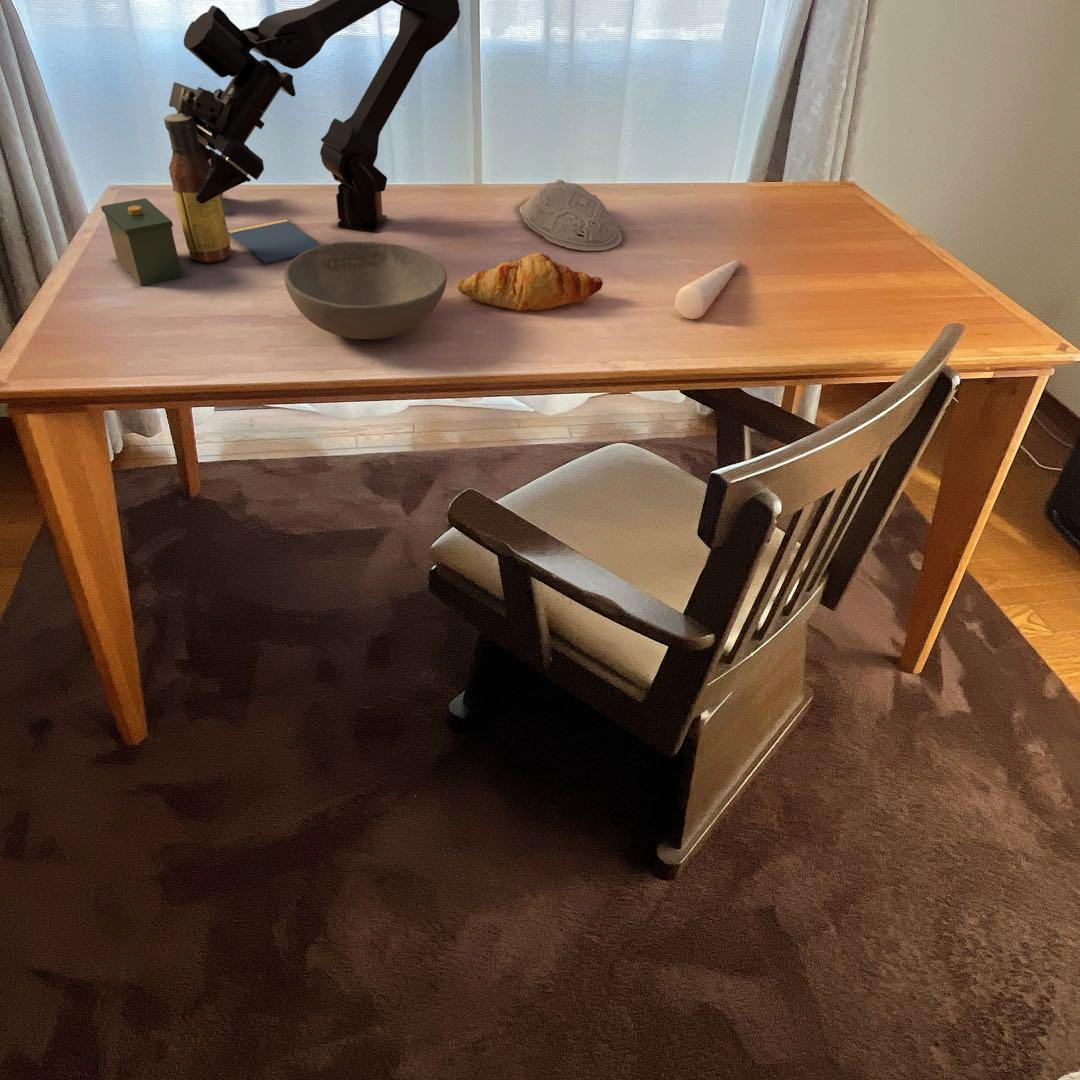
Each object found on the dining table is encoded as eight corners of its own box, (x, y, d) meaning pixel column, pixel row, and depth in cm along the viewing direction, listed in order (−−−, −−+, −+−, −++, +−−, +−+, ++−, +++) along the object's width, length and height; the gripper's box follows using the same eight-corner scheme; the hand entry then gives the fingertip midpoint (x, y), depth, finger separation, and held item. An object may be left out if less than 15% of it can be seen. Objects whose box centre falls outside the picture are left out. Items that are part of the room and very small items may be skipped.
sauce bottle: (240, 253, 135) (216, 115, 122) (213, 267, 131) (185, 126, 118) (206, 244, 137) (179, 107, 124) (178, 258, 132) (147, 118, 119)
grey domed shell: (551, 251, 140) (557, 208, 136) (504, 204, 159) (508, 165, 155) (638, 253, 145) (646, 212, 142) (582, 207, 164) (588, 169, 160)
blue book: (285, 221, 146) (285, 218, 145) (325, 250, 137) (325, 247, 137) (228, 233, 141) (227, 230, 140) (265, 264, 133) (265, 260, 132)
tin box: (158, 252, 134) (144, 192, 128) (184, 276, 128) (170, 215, 122) (115, 260, 131) (99, 200, 125) (140, 286, 125) (123, 224, 119)
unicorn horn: (759, 269, 141) (766, 240, 138) (701, 325, 125) (707, 293, 122) (732, 262, 142) (738, 233, 139) (671, 315, 127) (676, 284, 124)
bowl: (278, 301, 123) (269, 246, 118) (420, 283, 130) (418, 230, 125) (310, 374, 109) (302, 315, 104) (468, 349, 116) (468, 293, 110)
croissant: (458, 329, 127) (458, 294, 120) (455, 272, 131) (454, 235, 123) (602, 325, 129) (610, 291, 122) (594, 269, 133) (602, 233, 125)
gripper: (173, 45, 124) (113, 138, 125) (227, 75, 113) (161, 177, 115) (236, 98, 133) (179, 185, 134) (291, 131, 122) (229, 225, 124)
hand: (186, 191), depth 126 cm, fingers open, 9 cm apart
